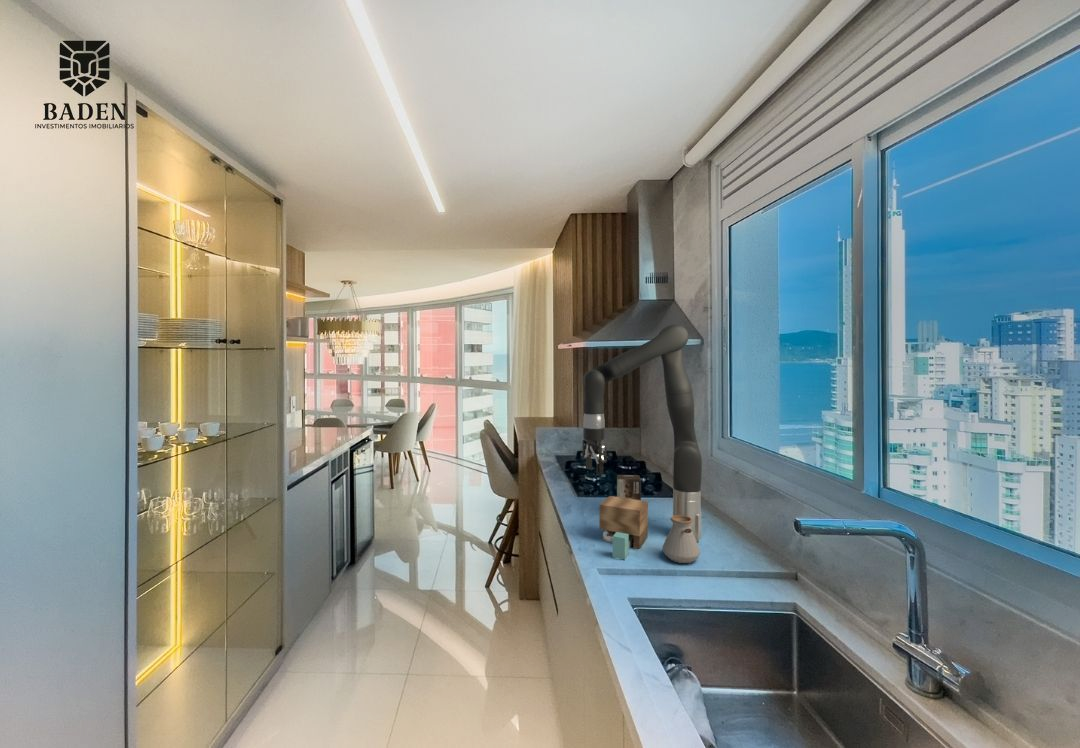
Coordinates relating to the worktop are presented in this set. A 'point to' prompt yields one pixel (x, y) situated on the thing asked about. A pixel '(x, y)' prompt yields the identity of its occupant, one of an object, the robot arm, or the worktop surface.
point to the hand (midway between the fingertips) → (594, 471)
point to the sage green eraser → (622, 544)
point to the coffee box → (629, 486)
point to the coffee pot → (681, 541)
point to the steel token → (608, 536)
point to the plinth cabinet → (625, 518)
